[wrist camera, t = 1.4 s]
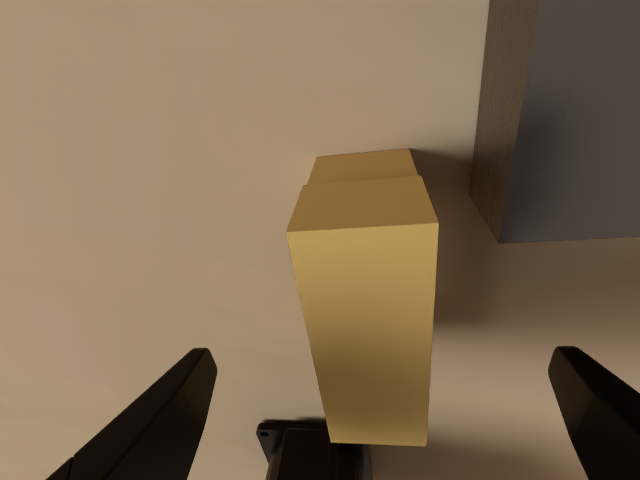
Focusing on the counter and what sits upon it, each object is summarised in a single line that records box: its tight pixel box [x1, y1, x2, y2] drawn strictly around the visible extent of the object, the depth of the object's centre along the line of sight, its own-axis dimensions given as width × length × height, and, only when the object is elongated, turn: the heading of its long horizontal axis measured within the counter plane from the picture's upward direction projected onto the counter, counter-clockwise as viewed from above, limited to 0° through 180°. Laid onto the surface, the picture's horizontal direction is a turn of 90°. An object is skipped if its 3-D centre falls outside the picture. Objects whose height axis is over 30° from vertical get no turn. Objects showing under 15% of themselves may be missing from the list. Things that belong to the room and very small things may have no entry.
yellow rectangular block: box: [286, 149, 439, 446], centre depth 11 cm, size 8×3×5 cm, turn 8°
